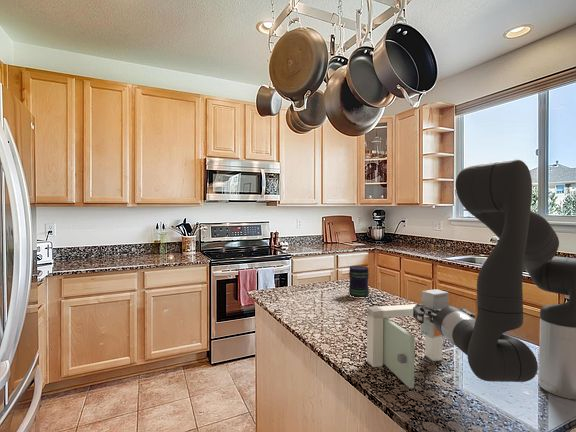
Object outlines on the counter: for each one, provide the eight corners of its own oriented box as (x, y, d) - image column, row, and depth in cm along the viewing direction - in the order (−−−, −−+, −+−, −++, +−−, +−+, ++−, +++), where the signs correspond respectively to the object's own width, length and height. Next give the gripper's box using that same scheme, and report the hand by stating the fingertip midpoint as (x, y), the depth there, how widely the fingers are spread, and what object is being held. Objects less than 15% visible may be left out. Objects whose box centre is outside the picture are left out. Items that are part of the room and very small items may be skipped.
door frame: (433, 354, 102) (434, 303, 101) (442, 360, 98) (443, 306, 98) (366, 360, 97) (367, 307, 97) (373, 367, 93) (373, 311, 93)
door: (414, 387, 82) (415, 336, 82) (403, 389, 81) (404, 337, 81) (383, 359, 97) (384, 316, 97) (374, 360, 96) (375, 316, 96)
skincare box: (432, 339, 87) (433, 294, 87) (420, 333, 91) (420, 290, 91) (448, 335, 90) (449, 292, 89) (435, 330, 93) (436, 288, 93)
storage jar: (366, 300, 162) (366, 269, 161) (346, 297, 166) (347, 268, 166) (370, 295, 171) (370, 266, 170) (351, 293, 175) (351, 265, 175)
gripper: (491, 312, 75) (457, 294, 92) (427, 311, 76) (405, 293, 93) (490, 344, 75) (457, 320, 92) (426, 343, 76) (405, 319, 93)
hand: (431, 307), depth 92 cm, fingers closed on skincare box, 7 cm apart
